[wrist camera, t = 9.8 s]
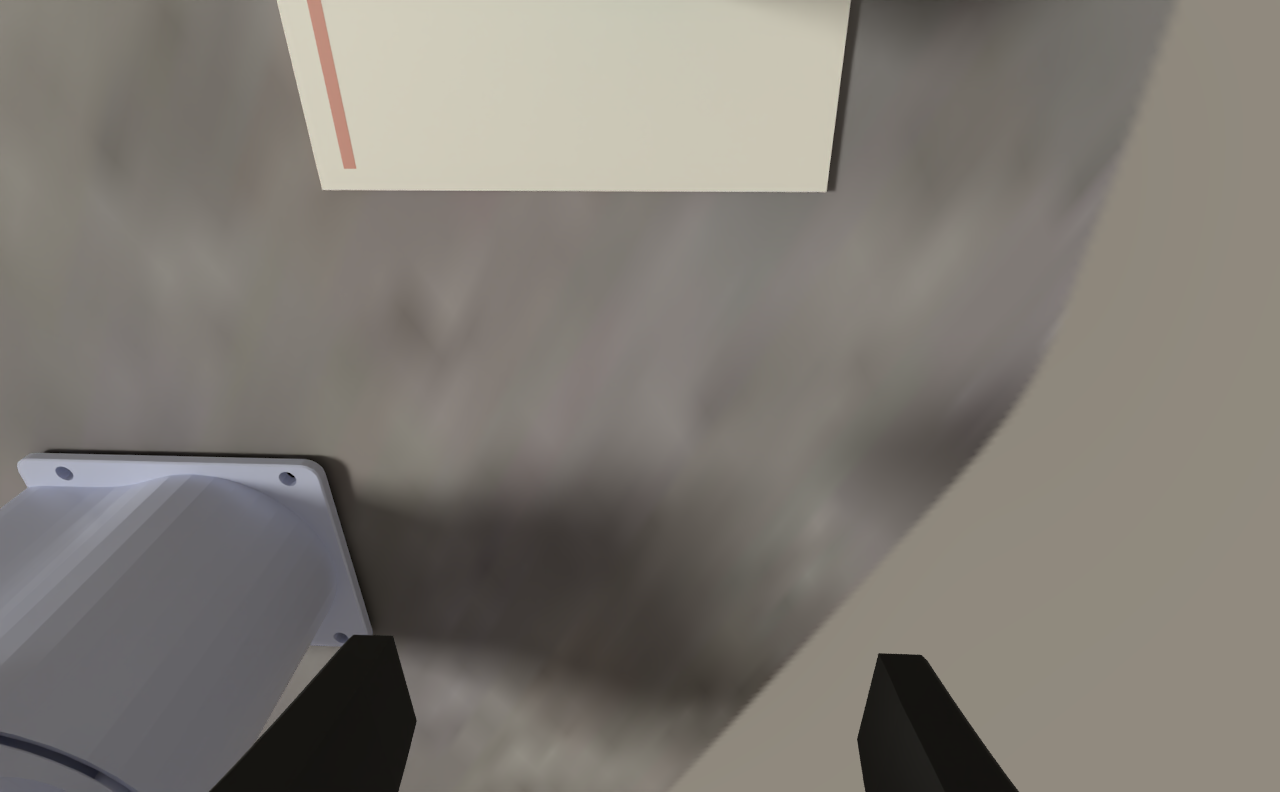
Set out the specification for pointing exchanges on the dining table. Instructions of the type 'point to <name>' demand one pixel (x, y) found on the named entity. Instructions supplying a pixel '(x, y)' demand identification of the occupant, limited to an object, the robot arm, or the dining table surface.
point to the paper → (569, 93)
